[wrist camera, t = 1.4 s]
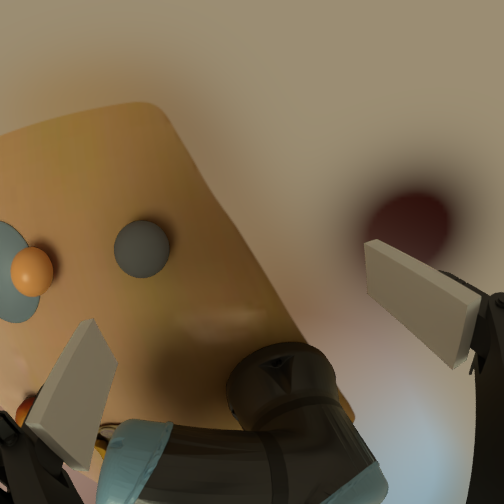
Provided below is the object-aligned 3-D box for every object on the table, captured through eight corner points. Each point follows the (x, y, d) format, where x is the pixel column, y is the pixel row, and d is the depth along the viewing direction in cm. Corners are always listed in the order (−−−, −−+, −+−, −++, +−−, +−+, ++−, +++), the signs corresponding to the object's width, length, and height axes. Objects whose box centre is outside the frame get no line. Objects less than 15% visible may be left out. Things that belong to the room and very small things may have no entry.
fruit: (7, 387, 28) (11, 422, 23) (47, 384, 34) (55, 418, 28) (20, 418, 30) (27, 452, 24) (57, 415, 35) (67, 448, 30)
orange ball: (66, 256, 27) (44, 271, 22) (54, 294, 28) (33, 314, 23) (32, 233, 26) (7, 245, 20) (21, 272, 26) (-2, 288, 21)
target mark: (52, 254, 27) (51, 255, 27) (31, 339, 29) (30, 340, 28) (-19, 202, 23) (-20, 202, 23) (-33, 288, 25) (-34, 289, 24)
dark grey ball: (181, 232, 29) (177, 245, 24) (157, 276, 30) (149, 297, 25) (136, 207, 27) (122, 214, 22) (114, 252, 28) (98, 268, 23)
